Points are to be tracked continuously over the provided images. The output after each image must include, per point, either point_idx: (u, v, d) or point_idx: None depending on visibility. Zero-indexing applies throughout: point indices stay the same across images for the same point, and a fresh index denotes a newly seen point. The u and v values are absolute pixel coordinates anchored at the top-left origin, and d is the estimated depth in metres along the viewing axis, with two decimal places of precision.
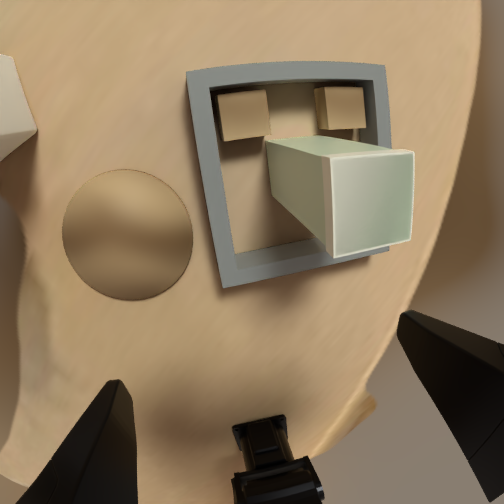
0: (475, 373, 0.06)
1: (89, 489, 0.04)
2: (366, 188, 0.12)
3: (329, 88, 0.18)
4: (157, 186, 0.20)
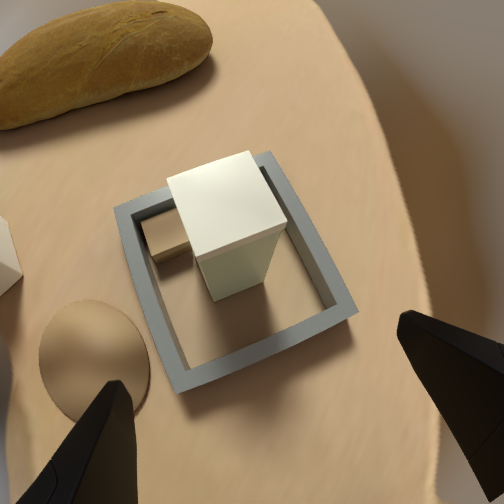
0: (475, 373, 0.06)
1: (89, 488, 0.04)
2: (207, 190, 0.14)
3: None
4: (110, 310, 0.21)
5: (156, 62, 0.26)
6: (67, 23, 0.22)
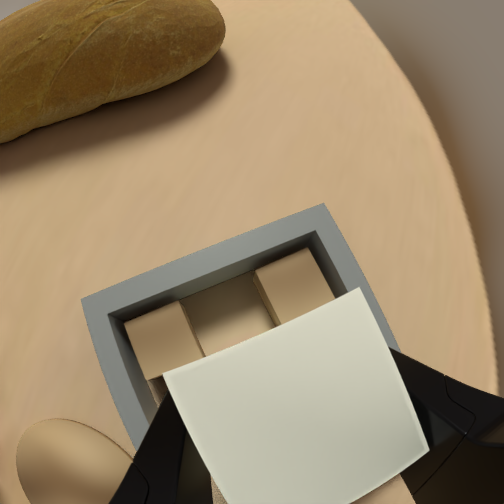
0: None
1: (180, 488, 0.05)
2: (272, 410, 0.05)
3: (262, 269, 0.15)
4: (96, 439, 0.13)
5: (146, 58, 0.17)
6: (27, 12, 0.13)
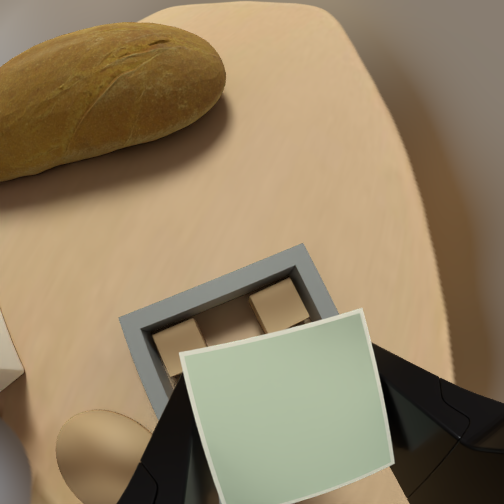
0: (406, 413, 0.05)
1: (188, 487, 0.05)
2: (267, 400, 0.06)
3: (255, 295, 0.20)
4: (128, 424, 0.18)
5: (158, 112, 0.22)
6: (45, 56, 0.18)
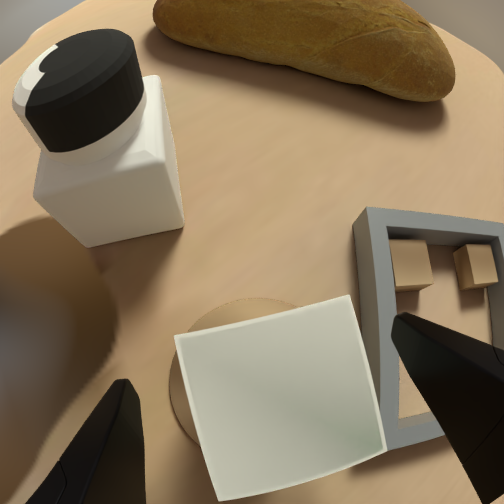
0: (469, 377, 0.06)
1: (99, 489, 0.04)
2: (257, 382, 0.06)
3: (469, 245, 0.18)
4: None
5: (413, 75, 0.21)
6: None
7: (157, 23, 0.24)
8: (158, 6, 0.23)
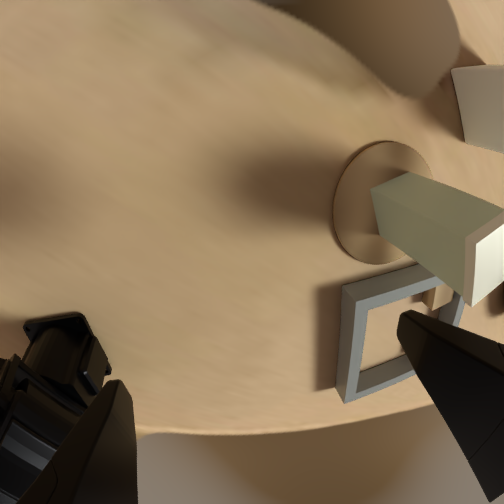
0: (475, 373, 0.06)
1: (89, 488, 0.04)
2: None
3: None
4: None
5: None
6: None
7: None
8: None
